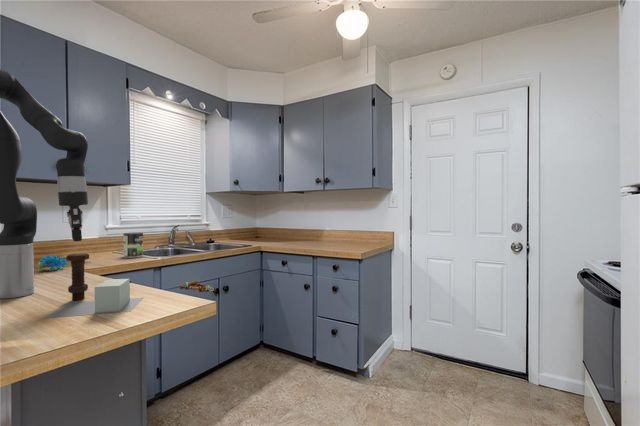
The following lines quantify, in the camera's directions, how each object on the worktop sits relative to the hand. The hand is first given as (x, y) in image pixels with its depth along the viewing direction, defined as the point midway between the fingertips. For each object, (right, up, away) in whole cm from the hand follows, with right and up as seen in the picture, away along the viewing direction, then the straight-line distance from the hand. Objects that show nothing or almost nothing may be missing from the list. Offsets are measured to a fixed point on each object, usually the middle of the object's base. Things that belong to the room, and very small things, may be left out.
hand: (77, 240), depth 103 cm
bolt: (+5, -19, -6) cm, 21 cm away
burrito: (+36, -19, +10) cm, 42 cm away
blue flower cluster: (-46, -18, +44) cm, 66 cm away
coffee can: (-32, -17, +85) cm, 93 cm away
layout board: (+16, -19, -13) cm, 28 cm away
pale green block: (+20, -18, -13) cm, 30 cm away
